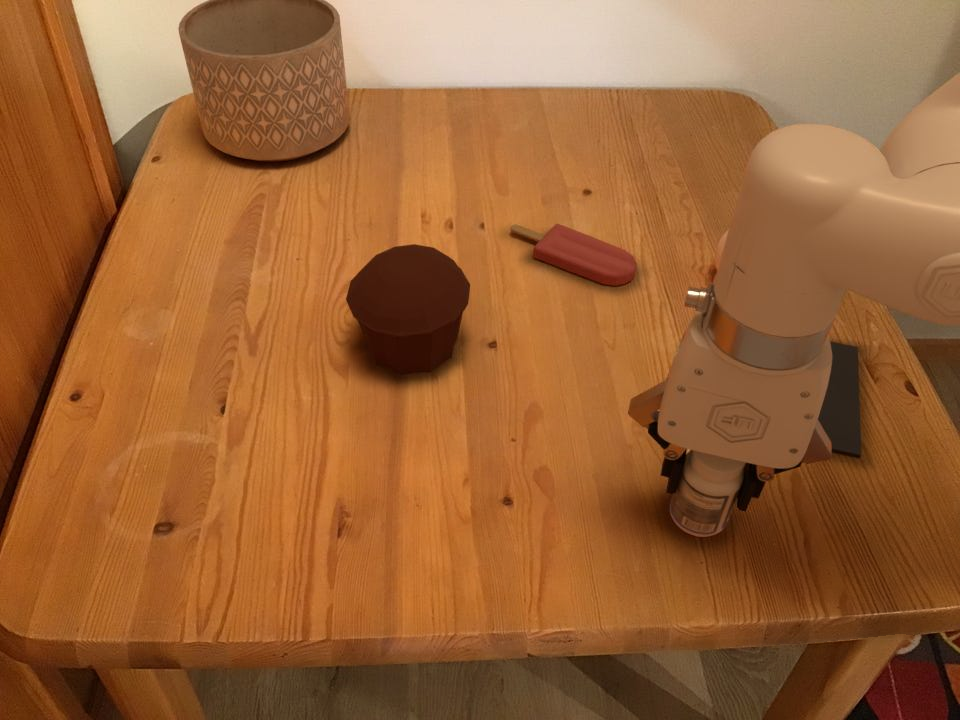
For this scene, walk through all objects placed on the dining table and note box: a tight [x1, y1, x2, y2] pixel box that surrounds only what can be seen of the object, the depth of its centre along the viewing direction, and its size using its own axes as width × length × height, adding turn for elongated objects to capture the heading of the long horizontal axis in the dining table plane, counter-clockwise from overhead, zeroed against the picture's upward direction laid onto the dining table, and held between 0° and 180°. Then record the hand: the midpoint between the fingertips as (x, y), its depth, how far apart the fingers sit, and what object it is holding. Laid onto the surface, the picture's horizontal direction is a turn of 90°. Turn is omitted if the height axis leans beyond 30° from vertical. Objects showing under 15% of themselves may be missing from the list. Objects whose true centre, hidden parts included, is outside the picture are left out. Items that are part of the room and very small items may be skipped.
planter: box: [177, 0, 351, 163], centre depth 105 cm, size 19×19×14 cm
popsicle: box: [509, 223, 637, 287], centre depth 92 cm, size 5×2×15 cm
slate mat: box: [818, 341, 862, 459], centre depth 80 cm, size 14×14×1 cm
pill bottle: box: [669, 449, 746, 538], centre depth 66 cm, size 5×5×8 cm
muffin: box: [345, 243, 471, 376], centre depth 79 cm, size 12×11×10 cm
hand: (707, 486), depth 67 cm, fingers closed on pill bottle, 4 cm apart
